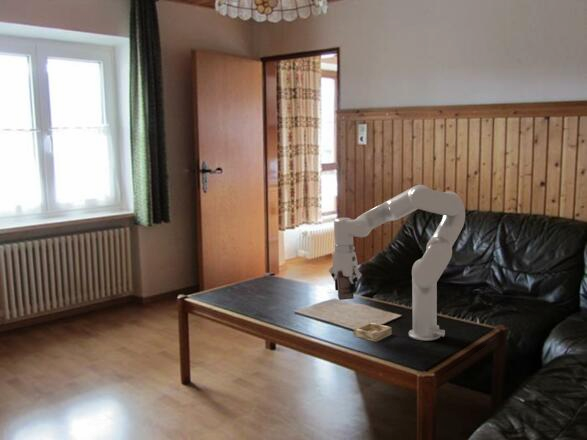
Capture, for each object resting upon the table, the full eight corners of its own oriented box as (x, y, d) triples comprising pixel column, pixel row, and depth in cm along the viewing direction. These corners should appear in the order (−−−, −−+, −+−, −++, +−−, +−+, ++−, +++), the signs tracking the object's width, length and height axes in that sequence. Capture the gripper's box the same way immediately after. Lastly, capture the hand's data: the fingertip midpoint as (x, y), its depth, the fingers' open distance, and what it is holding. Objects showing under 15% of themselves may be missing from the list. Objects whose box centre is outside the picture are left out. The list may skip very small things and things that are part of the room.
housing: (391, 334, 248) (391, 327, 248) (376, 341, 240) (375, 334, 240) (369, 328, 256) (369, 322, 255) (353, 336, 248) (353, 329, 247)
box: (351, 296, 251) (350, 268, 249) (353, 299, 247) (352, 270, 245) (337, 297, 251) (336, 269, 249) (339, 300, 246) (338, 271, 244)
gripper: (367, 248, 242) (368, 292, 245) (333, 244, 254) (334, 285, 257) (355, 252, 237) (357, 296, 240) (321, 247, 249) (323, 289, 251)
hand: (345, 290), depth 248 cm, fingers closed on box, 6 cm apart
